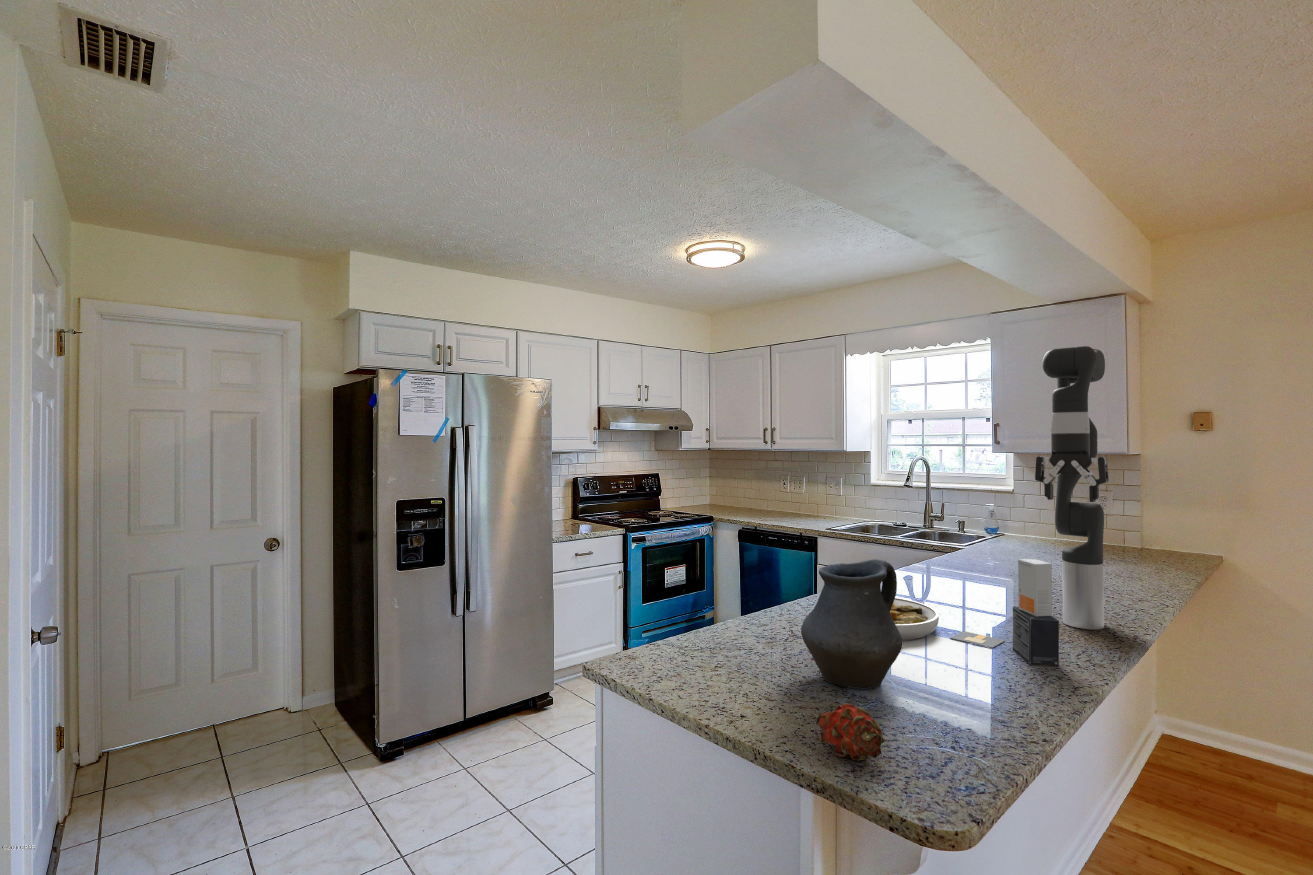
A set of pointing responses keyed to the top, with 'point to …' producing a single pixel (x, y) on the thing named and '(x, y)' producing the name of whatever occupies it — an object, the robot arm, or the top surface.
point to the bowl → (913, 618)
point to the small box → (1036, 638)
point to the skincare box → (1035, 587)
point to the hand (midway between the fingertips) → (1070, 500)
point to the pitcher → (854, 624)
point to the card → (977, 639)
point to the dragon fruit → (851, 732)
